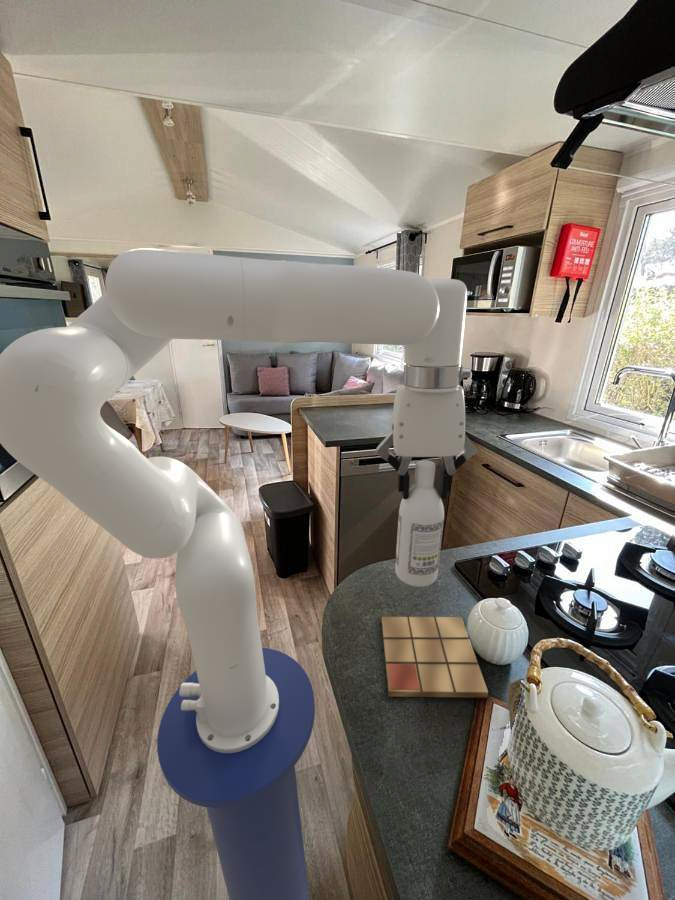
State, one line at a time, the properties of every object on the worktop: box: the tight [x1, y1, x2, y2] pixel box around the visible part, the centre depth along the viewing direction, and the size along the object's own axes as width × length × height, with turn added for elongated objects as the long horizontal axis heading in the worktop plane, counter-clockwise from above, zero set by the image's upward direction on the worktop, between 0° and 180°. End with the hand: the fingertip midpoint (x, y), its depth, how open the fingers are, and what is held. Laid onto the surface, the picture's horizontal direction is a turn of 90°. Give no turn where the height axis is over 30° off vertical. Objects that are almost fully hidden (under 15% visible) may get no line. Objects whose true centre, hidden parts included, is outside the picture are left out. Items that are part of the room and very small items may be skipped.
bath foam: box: [394, 459, 445, 588], centre depth 60 cm, size 7×7×20 cm
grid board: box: [381, 615, 489, 699], centre depth 65 cm, size 15×15×1 cm
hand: (423, 494), depth 59 cm, fingers closed on bath foam, 5 cm apart
